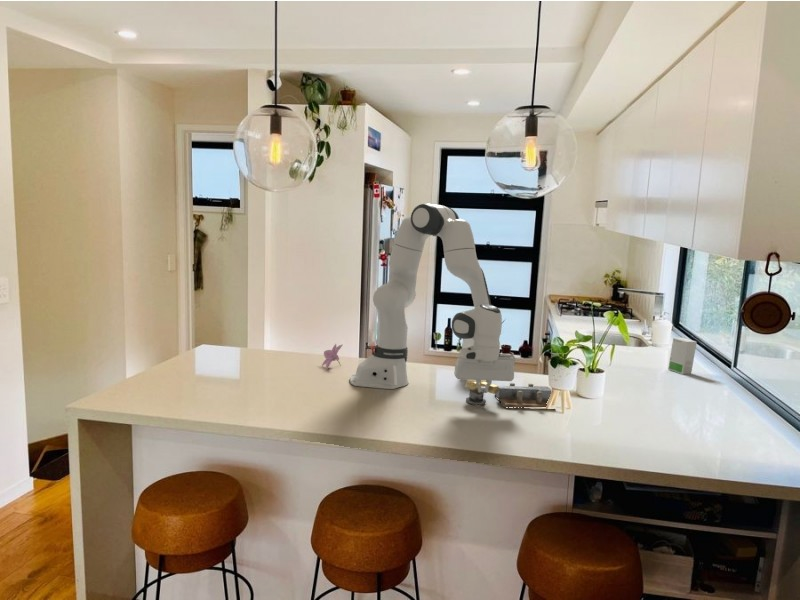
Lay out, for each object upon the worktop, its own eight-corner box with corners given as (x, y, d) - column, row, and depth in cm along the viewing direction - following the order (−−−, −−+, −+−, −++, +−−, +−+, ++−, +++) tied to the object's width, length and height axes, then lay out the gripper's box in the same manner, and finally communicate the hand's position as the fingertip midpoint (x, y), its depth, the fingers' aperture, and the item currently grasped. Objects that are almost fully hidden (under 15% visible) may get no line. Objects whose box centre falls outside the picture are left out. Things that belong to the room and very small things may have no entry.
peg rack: (505, 408, 196) (506, 393, 195) (494, 395, 210) (496, 381, 209) (555, 409, 198) (557, 394, 197) (542, 397, 212) (543, 383, 211)
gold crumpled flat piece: (461, 386, 200) (461, 380, 200) (474, 383, 206) (475, 376, 206) (488, 395, 192) (489, 388, 192) (502, 391, 198) (503, 384, 197)
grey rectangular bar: (499, 400, 200) (500, 389, 200) (495, 395, 205) (496, 384, 205) (551, 401, 202) (552, 390, 202) (546, 397, 207) (547, 386, 206)
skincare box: (667, 369, 268) (671, 337, 266) (677, 369, 271) (681, 337, 269) (682, 374, 261) (687, 341, 259) (692, 373, 264) (697, 340, 262)
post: (468, 405, 197) (469, 391, 197) (464, 398, 204) (465, 385, 204) (487, 405, 198) (489, 391, 197) (483, 399, 205) (484, 385, 204)
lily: (324, 364, 244) (316, 346, 240) (350, 355, 244) (342, 337, 240) (324, 380, 234) (315, 361, 229) (351, 370, 233) (343, 352, 229)
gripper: (513, 352, 197) (509, 390, 199) (455, 349, 195) (452, 388, 197) (518, 356, 191) (514, 396, 193) (458, 353, 189) (455, 394, 190)
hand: (482, 392), depth 195 cm, fingers closed
